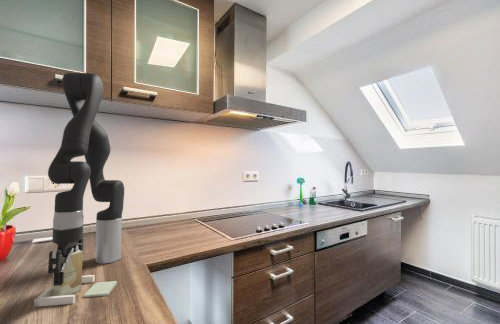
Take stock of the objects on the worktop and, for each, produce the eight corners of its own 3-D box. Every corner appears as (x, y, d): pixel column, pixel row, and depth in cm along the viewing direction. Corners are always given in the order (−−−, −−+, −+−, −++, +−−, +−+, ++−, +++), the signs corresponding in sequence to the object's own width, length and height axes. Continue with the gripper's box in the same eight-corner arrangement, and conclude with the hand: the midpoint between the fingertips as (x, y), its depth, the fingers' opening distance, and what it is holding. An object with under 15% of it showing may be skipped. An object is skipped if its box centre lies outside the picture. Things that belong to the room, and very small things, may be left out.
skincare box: (60, 299, 69) (61, 257, 69) (51, 296, 71) (52, 255, 71) (82, 289, 75) (83, 250, 75) (73, 286, 77) (74, 248, 77)
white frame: (62, 283, 79) (62, 277, 79) (94, 280, 81) (94, 274, 81) (34, 307, 65) (34, 299, 65) (73, 303, 67) (73, 296, 67)
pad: (95, 284, 78) (95, 282, 78) (117, 282, 79) (117, 280, 79) (83, 297, 70) (83, 295, 70) (107, 295, 72) (107, 293, 72)
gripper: (67, 220, 80) (66, 269, 79) (38, 231, 66) (36, 291, 65) (92, 220, 81) (91, 268, 81) (69, 230, 67) (67, 288, 67)
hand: (66, 278), depth 73 cm, fingers open, 8 cm apart
